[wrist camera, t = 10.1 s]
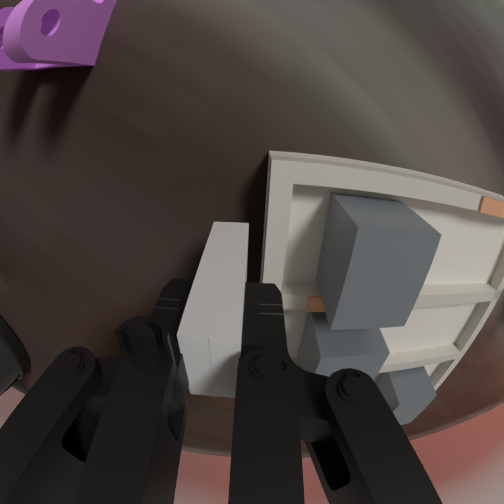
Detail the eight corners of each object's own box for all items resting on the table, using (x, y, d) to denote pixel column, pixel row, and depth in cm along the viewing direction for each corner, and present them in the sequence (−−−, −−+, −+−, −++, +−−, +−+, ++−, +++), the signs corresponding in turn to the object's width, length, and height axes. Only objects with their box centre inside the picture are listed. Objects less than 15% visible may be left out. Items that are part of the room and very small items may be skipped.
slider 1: (315, 278, 15) (330, 330, 11) (330, 192, 12) (358, 226, 9) (378, 280, 15) (404, 326, 11) (400, 200, 12) (441, 234, 9)
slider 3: (366, 396, 22) (375, 430, 18) (386, 366, 19) (399, 404, 16) (399, 391, 22) (410, 422, 18) (421, 361, 19) (436, 395, 16)
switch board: (250, 394, 24) (250, 419, 22) (268, 150, 13) (271, 160, 11) (422, 379, 24) (430, 398, 22) (511, 199, 13) (534, 213, 11)
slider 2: (297, 357, 18) (302, 404, 15) (309, 305, 16) (320, 357, 12) (348, 355, 18) (360, 399, 15) (369, 305, 16) (389, 352, 12)
